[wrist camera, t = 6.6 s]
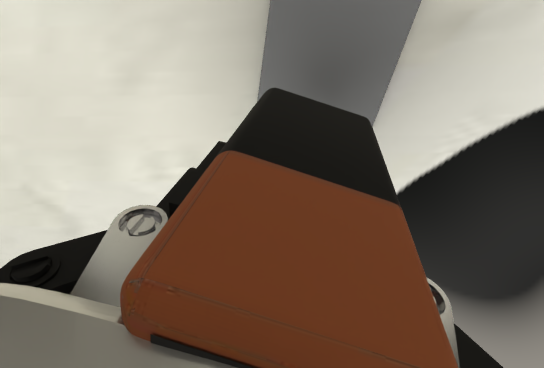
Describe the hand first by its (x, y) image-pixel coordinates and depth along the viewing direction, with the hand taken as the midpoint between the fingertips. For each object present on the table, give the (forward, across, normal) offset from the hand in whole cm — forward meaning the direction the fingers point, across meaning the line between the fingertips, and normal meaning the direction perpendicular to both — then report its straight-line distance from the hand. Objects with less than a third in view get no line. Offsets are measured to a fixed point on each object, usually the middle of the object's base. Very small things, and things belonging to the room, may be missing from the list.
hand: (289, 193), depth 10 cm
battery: (+2, 0, 0) cm, 2 cm away
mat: (+17, -1, -2) cm, 17 cm away
